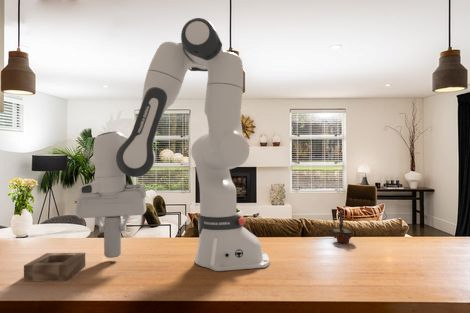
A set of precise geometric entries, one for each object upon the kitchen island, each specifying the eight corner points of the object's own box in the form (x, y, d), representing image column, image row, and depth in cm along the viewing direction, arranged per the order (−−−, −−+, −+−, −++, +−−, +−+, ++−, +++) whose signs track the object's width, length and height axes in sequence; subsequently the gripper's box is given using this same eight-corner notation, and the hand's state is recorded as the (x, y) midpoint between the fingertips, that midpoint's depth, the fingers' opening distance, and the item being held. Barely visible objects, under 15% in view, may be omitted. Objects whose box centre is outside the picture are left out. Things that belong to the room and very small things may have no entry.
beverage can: (116, 258, 99) (116, 218, 98) (101, 257, 99) (101, 217, 99) (123, 253, 104) (123, 215, 103) (108, 252, 104) (109, 214, 104)
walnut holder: (85, 266, 97) (85, 252, 97) (67, 280, 86) (67, 265, 86) (46, 266, 96) (46, 253, 96) (23, 281, 85) (23, 265, 85)
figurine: (356, 246, 118) (356, 212, 118) (333, 245, 118) (333, 212, 118) (349, 239, 127) (349, 208, 127) (327, 239, 128) (327, 207, 128)
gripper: (147, 182, 104) (149, 226, 105) (81, 186, 104) (83, 230, 104) (142, 184, 98) (145, 231, 98) (72, 188, 97) (74, 235, 98)
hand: (113, 231), depth 101 cm, fingers closed on beverage can, 5 cm apart
